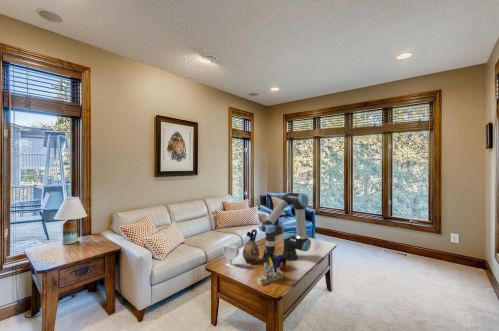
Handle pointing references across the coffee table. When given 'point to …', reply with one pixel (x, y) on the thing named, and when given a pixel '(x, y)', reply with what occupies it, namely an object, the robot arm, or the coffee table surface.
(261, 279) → the cream lumpy bar
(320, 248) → the coffee table surface
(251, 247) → the ceramic jug
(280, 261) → the puzzle toy
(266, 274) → the clip
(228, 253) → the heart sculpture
